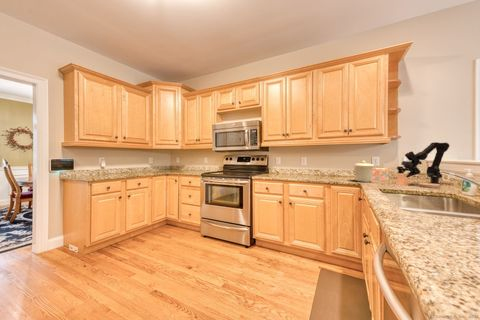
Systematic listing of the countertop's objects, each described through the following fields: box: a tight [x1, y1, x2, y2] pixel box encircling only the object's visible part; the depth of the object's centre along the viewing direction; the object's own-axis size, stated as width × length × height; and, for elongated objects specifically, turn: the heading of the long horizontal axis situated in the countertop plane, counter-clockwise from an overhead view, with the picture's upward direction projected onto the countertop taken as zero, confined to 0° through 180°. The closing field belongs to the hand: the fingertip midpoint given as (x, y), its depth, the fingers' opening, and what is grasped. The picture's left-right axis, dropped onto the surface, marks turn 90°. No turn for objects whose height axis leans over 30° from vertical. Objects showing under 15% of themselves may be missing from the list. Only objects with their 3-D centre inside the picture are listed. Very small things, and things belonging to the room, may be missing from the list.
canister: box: [353, 160, 375, 183], centre depth 208 cm, size 18×18×21 cm
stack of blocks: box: [371, 167, 390, 181], centre depth 222 cm, size 21×6×12 cm, turn 75°
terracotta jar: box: [395, 172, 411, 186], centre depth 186 cm, size 7×7×10 cm
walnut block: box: [417, 182, 442, 190], centre depth 172 cm, size 12×12×3 cm
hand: (402, 176), depth 186 cm, fingers open, 9 cm apart
